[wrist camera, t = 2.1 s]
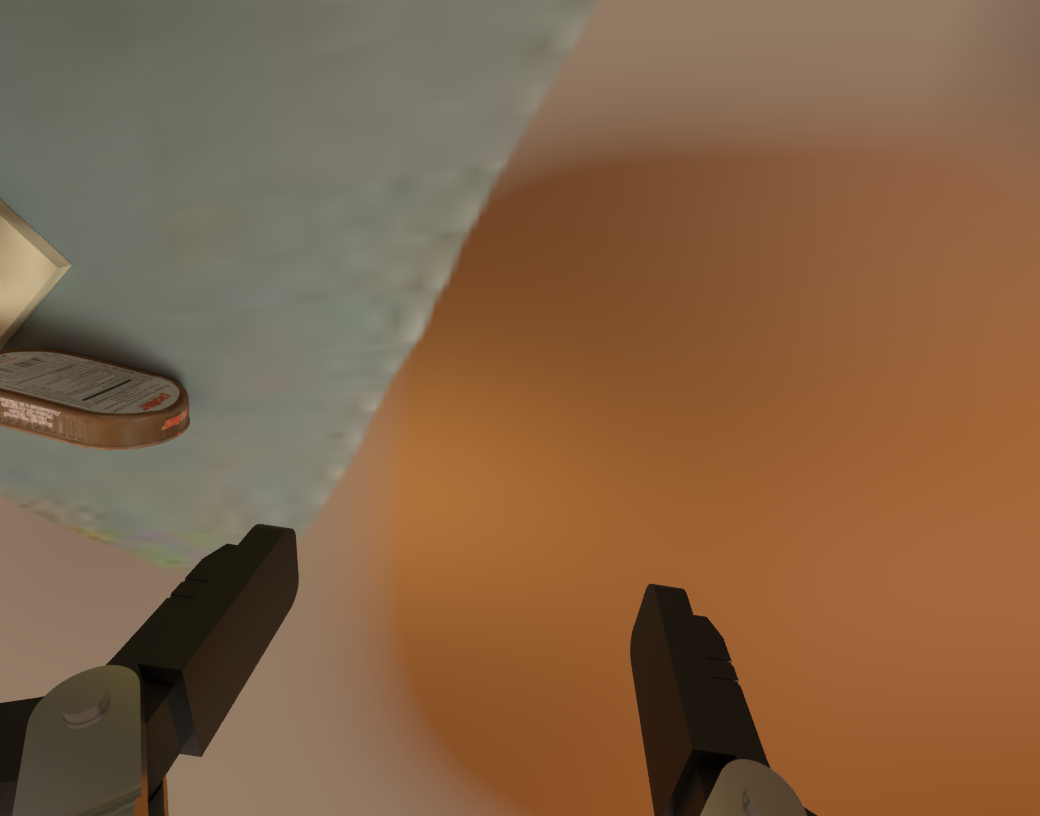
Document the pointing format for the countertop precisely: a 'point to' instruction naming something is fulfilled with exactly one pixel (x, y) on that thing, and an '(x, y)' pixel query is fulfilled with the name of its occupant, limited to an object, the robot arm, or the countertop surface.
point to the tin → (88, 400)
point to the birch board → (24, 271)
